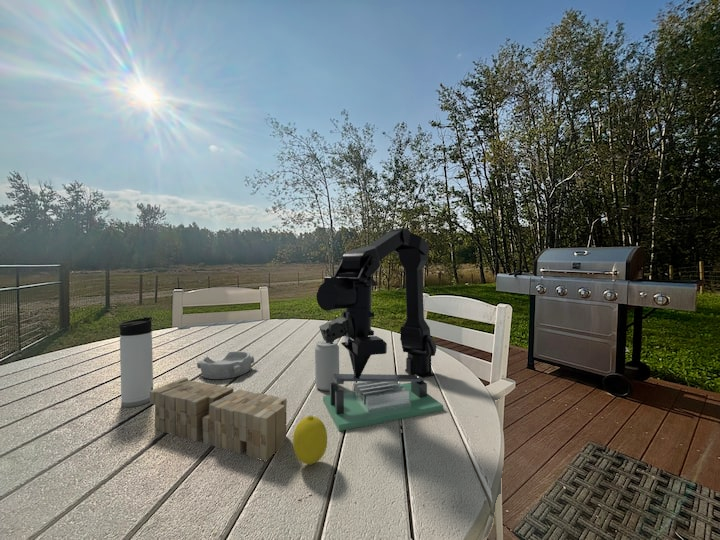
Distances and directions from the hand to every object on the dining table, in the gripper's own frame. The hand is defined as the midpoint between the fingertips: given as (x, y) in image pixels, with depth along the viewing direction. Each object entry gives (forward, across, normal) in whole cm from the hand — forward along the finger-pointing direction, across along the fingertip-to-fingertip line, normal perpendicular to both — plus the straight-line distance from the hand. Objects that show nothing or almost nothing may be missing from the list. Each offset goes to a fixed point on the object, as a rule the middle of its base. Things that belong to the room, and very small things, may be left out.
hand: (357, 376), depth 68 cm
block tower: (+9, -1, -28) cm, 29 cm away
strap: (+2, 0, +6) cm, 6 cm away
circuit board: (+7, 0, +6) cm, 9 cm away
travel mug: (+9, -23, -48) cm, 54 cm away
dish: (+9, -37, -29) cm, 48 cm away
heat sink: (+6, 0, +6) cm, 8 cm away
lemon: (+8, +15, -13) cm, 22 cm away
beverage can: (+8, -15, -3) cm, 17 cm away
